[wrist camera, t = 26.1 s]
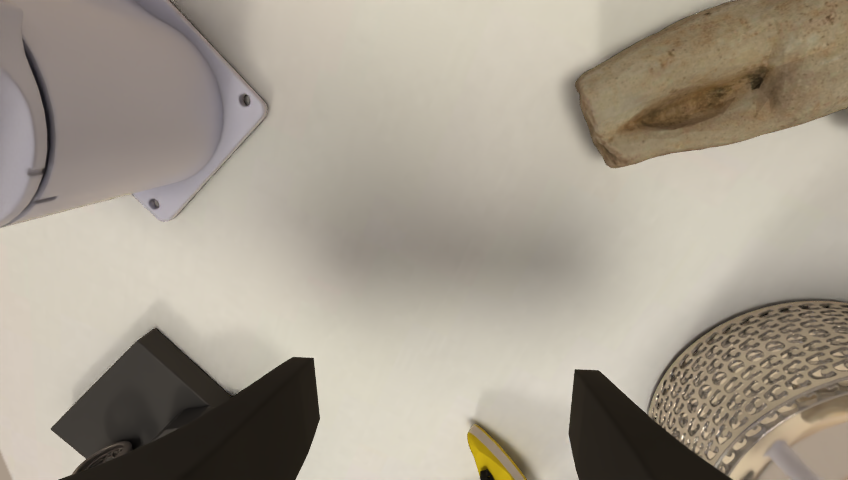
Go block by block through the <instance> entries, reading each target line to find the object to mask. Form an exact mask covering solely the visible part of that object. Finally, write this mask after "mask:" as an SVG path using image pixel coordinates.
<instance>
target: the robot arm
mask: <svg viewBox="0 0 848 480" xmlns="http://www.w3.org/2000/svg"><path fill="white" fill-rule="evenodd" d="M245 95H248V96H249V98H250V104H249V105H248V106H247V105H245V103H244V102H243V98H244V96H245ZM267 110H268V109H267V105H266V104H265V102H264V101H263V100H262V99H261V97H260V96H259V95H258V94H257V93H256V92H255V91H254V90H253V89H252V88H251V87H250V86H249V85H248V84H247V83H246V82H245V80H244V79H243V78H242V77H241V76H240V75H239V74H238V73H237V72H236V71H235V70H234V69H233V68H232V67H231V66H230V65H229V64H228V62H227V61H226V60H225V59H224V58H223V57H222V56H221V55H220V54H219V53H218V52H217V51H216V50H215V49H214V48H213V47H212V45H211V44H210V43H209V42H208V41H207V40H206V39H205V38H204V37H203V36H202V35H201V34H200V33H199V32H198V31H197V30H196V29H195V27H194V26H193V25H192V24H191V23H190V22H189V21H188V20H187V19H186V18H185V17H184V16H183V15H182V14H181V13H180V12H179V10H178V9H177V8H176V7H175V6H174V5H173V4H172V3H171V2H170V1H169V0H0V228H2V227H6V226H10V225H13V224H17V223H21V222H25V221H29V220H33V219H37V218H41V217H44V216H48V215H52V214H56V213H60V212H64V211H68V210H71V209H75V208H79V207H83V206H87V205H91V204H95V203H98V202H102V201H106V200H110V199H114V198H118V197H122V196H125V195H129V194H132V195H133V196H134V197H135V198H136V199H137V200H138V201H139V202H140V203H141V204H142V205H143V206H144V207H145V208H146V209H148V210H149V211H150V212H151V213H152V214H153V215H154V216H155V217H156V218H157V219H159V220H160V221H163V222H165V221H169V220H172V219H173V218H175V217H176V215H177V214H178V213H179V212H180V211H181V210H182V209H183V208H184V207H185V205H186V204H187V203H188V202H189V201H190V200H191V199H192V198H193V197H194V195H195V194H196V193H197V192H198V191H199V190H200V189H201V188H202V187H203V186H204V184H205V183H206V182H207V181H208V180H209V179H210V178H211V177H212V176H213V174H214V173H215V172H216V171H217V170H218V169H219V168H220V167H221V166H222V165H223V163H224V162H225V161H226V160H227V159H228V158H229V157H230V156H231V155H232V153H233V152H234V151H235V150H236V149H237V148H238V147H239V146H240V145H241V143H242V142H243V141H244V140H245V139H246V138H247V137H248V136H249V135H250V134H251V132H252V131H253V130H254V129H255V128H256V127H257V126H258V125H259V124H260V122H261V121H262V120H263V119H264V118H265V117H266V115H267ZM154 200H157V201H158V203H159V207H157V206H156V205H155V202H154ZM319 420H320V415H319V406H318V396H317V387H316V377H315V367H314V358H302V357H292V358H291V359H289V360H287V361H286V362H284V363H282V364H281V365H279V366H278V367H276V368H275V369H273V370H272V371H270V372H269V373H267V374H266V375H264V376H263V377H262V378H260V379H259V380H257V381H256V382H254V383H253V384H251V385H250V386H248V387H247V388H245V389H244V390H242V391H241V392H239V393H238V394H236V395H235V396H233V397H231V398H230V399H228V400H227V401H225V402H223V403H222V404H220V405H218V406H217V407H215V408H214V409H212V410H210V411H209V412H207V413H205V414H204V415H202V416H200V417H199V418H197V419H195V420H193V421H192V422H190V423H188V424H186V425H184V426H183V427H181V428H179V429H177V430H175V431H173V432H171V433H169V434H167V435H165V436H163V437H161V438H159V439H157V440H155V441H153V442H151V443H148V444H146V445H144V446H142V447H139V448H137V449H135V450H133V451H130V452H128V453H126V454H124V455H121V456H119V457H117V458H114V459H112V460H110V461H107V462H105V463H102V464H100V465H97V466H95V467H92V468H89V469H87V470H84V471H81V472H79V473H76V474H73V475H70V476H68V477H65V478H62V479H59V480H295V479H296V477H297V475H298V473H299V471H300V469H301V467H302V465H303V463H304V461H305V459H306V456H307V454H308V452H309V449H310V446H311V444H312V441H313V438H314V435H315V432H316V429H317V426H318V423H319ZM569 438H570V443H571V448H572V453H573V458H574V462H575V467H576V471H577V474H578V478H579V480H733V479H732V478H730V477H729V476H727V475H726V474H724V473H723V472H721V471H720V470H718V469H717V468H715V467H714V466H713V465H711V464H710V463H708V462H707V461H705V460H704V459H702V458H701V457H700V456H698V455H697V454H696V453H694V452H693V451H692V450H690V449H689V448H688V447H686V446H685V445H684V444H682V443H681V442H680V441H679V440H677V439H676V438H675V437H674V436H672V435H671V434H670V433H669V432H667V431H666V430H665V429H664V428H662V427H661V426H660V425H659V424H658V423H656V422H655V421H654V420H653V419H652V418H651V417H649V416H648V415H647V414H646V413H645V412H644V411H643V410H641V409H640V408H639V407H638V406H637V405H636V404H635V403H634V402H633V401H631V400H630V399H629V398H628V397H627V396H626V395H625V394H624V393H623V392H622V391H621V390H619V389H618V388H617V387H616V386H615V385H614V384H613V383H612V382H611V381H610V380H609V379H608V378H607V377H605V376H604V375H603V374H602V373H601V372H600V371H599V370H576V369H575V373H574V383H573V393H572V404H571V414H570V424H569Z"/></svg>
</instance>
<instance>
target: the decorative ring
mask: <svg viewBox="0 0 848 480" xmlns="http://www.w3.org/2000/svg"><path fill="white" fill-rule="evenodd" d="M130 451H133V449H132V445H131V443H130V442H128V441H121V442H117V443H114V444H111V445H109V446H107V447H105V448H103V449H101V450H99V451H98V452H96V453H94V454H93V455H91V456H90V457H89V458H87V459H86V460H85V461H84V462H83V463H81V464H80V465H79V466H78V467H77V468H76V470H75V471H74V472H73V474H76V473H79V472H81V471H84V470H87V469H89V468H92V467H95V466H97V465H100V464H102V463H105V461H106V460H107V458H110V457H112V458H117V457H119V456H121V455H124V454H126V453H128V452H130ZM110 452H112V453H111V455H109V453H110ZM73 474H72V475H73Z"/></svg>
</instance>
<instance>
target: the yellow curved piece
mask: <svg viewBox="0 0 848 480" xmlns="http://www.w3.org/2000/svg"><path fill="white" fill-rule="evenodd" d="M467 437H468V444H469V447H470V450H471V452H472V454H473V456H474V458H475V462H476V465H477V468H478V472H479V475H480V479H481V480H527V479H526V477H525V476H524V475H523V473H522V472H521V471H520V469H519V468H518V467H517V465H516V464H515V463H514V461H513V460H512V459H511V458H510V457H509V456H508V454H507V453H506V452H505V451H504V450H503V449H502V448H501V446H500V445H499V444H498V443H497V442H496V441H495V440H494V439H493V438H492V437H491V436H490V435H488V434H487V433H486V432H485V431H484V430H483V429H482V428H481V427H480V426H478V425H476V424H474V425H472V427H471V429H470V430H469V432H468V435H467Z"/></svg>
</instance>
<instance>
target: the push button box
mask: <svg viewBox="0 0 848 480" xmlns="http://www.w3.org/2000/svg"><path fill="white" fill-rule="evenodd" d="M230 398H231V396H230V395H229V394H227V393H226V392H225V391H224V390H223V389H222V388H221V387H220V386H219V385H218V384H216V383H215V382H214V381H213V380H212V379H211V378H210V377H209V376H208V375H206V374H205V373H204V372H203V371H202V370H201V369H200V368H199V367H198V366H197V365H195V364H194V363H193V362H192V361H191V360H190V359H189V358H188V357H187V356H186V355H184V354H183V353H182V352H181V351H180V350H179V349H178V348H177V347H176V346H174V345H173V344H172V343H171V342H170V341H169V340H168V339H167V338H166V337H165V336H163V335H162V334H161V333H160V332H159V331H158V330H157V329H153V330H152V331H150V332H149V333H147V334H146V335H145V336H143V337H142V338H140V339H139V340H137V341H136V342H135V343H134V344H133V345H132V346H131V347H130V348H129V350H128V351H127V352H126V353H125V354H124V355H123V356H122V357H121V358H120V359H119V360H118V361H117V362H116V363H115V364H114V365H113V366H112V367H111V368H110V369H109V370H108V371H107V372H106V373H105V374H104V375H103V376H102V377H101V378H100V379H99V380H98V381H97V382H96V383H95V384H94V385H93V386H92V387H91V388H90V389H89V390H88V391H87V392H86V393H85V394H84V395H83V396H82V397H81V398H80V399H79V400H78V401H77V402H76V403H75V404H74V405H73V406H72V407H71V408H70V409H69V410H68V411H67V412H66V413H65V414H64V415H63V416H62V417H61V418H60V419H59V421H58V422H57V423H56V424H55V425H54V426H53V427H52V428H51V430H52V431H53V432H54V433H56V434H57V435H58V436H59V437H61V438H62V439H63V440H64V441H65V442H67V443H68V444H69V445H70V446H71V447H73V448H74V449H75V450H76V451H78V452H79V453H80V454H81V455H82V456H84V457H85V458H86V459H87V458H89V457H90V456H91V455H93V454H94V453H96V452H98V451H99V450H101V449H103V448H105V447H107V446H109V445H111V444H114V443H117V442H121V441H128V442H130V443H131V445H132V449H133V450H135V449H137V448H139V447H142V446H144V445H146V444H148V443H151V442H153V441H155V440H157V439H159V438H161V437H163V436H165V435H167V434H169V433H171V432H173V431H175V430H177V429H179V428H181V427H183V426H184V425H186V424H188V423H190V422H192V421H193V420H195V419H197V418H199V417H200V416H202V415H204V414H205V413H207V412H209V411H210V410H212V409H214V408H215V407H217V406H218V405H220V404H222V403H223V402H225V401H227V400H228V399H230ZM111 453H112V452H110V453H109V455H111ZM112 459H114V458H112V457H110V458H107V460H106V461H105V462H107V461H110V460H112Z"/></svg>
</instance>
